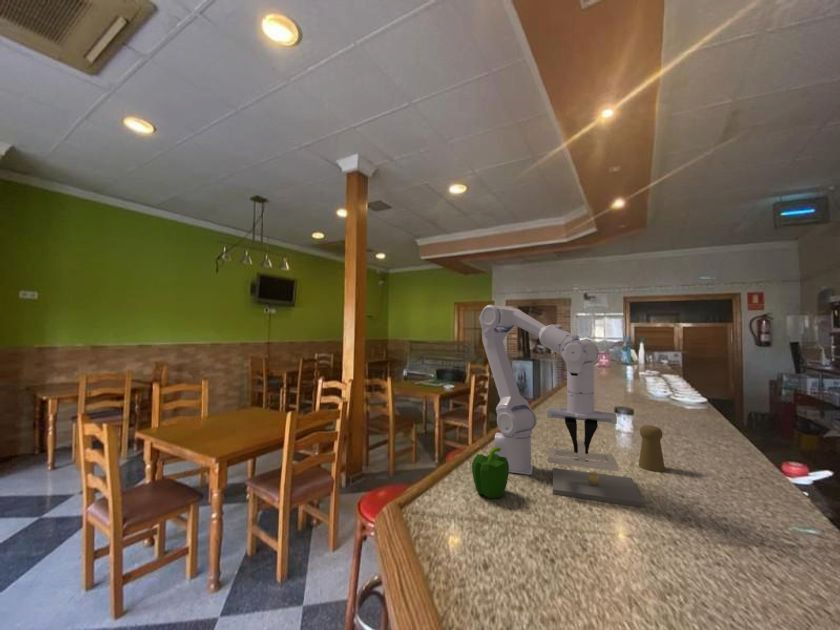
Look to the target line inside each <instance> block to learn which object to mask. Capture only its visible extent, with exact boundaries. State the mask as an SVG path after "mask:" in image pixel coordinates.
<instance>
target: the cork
mask: <svg viewBox="0 0 840 630" xmlns="http://www.w3.org/2000/svg"><path fill="white" fill-rule="evenodd" d="M639 434H640V436H641V444H640V452H639V453H640V454H639V460H638V461H639V462H638V467H639V468H641V469H643V470H646V471H650V472H657V473H661V472H666V468H665V467H666V466H665V461H664V460H665V459H664V456H663V449H662V443H661V439H662V438H663V430H662V429H661V428H660V427H658V426H654V425H648V424H647V425H642V426H641V427H640V428H639Z"/></svg>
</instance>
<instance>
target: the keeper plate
mask: <svg viewBox="0 0 840 630" xmlns="http://www.w3.org/2000/svg"><path fill="white" fill-rule="evenodd" d="M552 494H553V495H559V496H564V497H570V498H571V497H572V498H579V499H585V500H591V501H598V502H604V503H605V502H606V503H612V504H618V505H624V506H625V505H626V506H630V507H631V506H632V507H638V508H643V509H644V508H646V502H645V500H644V498H643V496H642V494H641V493H640V490H639V488H638V487H637V485H636V483H635V481H634V480H633V477H630V476H628V477H627V476H620V475H612V474H605V473H598V472H595V471H582V470H581V471H580V470H572V469H564V468H558V467H552Z"/></svg>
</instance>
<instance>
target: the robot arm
mask: <svg viewBox="0 0 840 630" xmlns="http://www.w3.org/2000/svg"><path fill="white" fill-rule="evenodd" d="M478 321H479V323H480V326H481V335H482V336H481V338H482V339H481V340H482V345H483V347H484V350H485V351H484V352H485V354H486V358H487V361H488V364H489V367H490V370H491V374H492V377H493V381H494V383H495V388H496V389H497V390H496V391H497V394H498V397H499V402H498V404H497V405H496V408H495V412H496V424H497V427H498V428H497V429H499V431H500V432H496V433H495V435H494V443H493V445H494V446H493V448H495V447H499V448H501V450H500V451H499V452H498V451H496V452H495V453H494V454H497V455H499V456H500V457H506V458H507V461H508V465H509V473H514V474H522V475H528V476H529V475H530V476H532V475H533V470H534V463H533V462H532V434H533V430H534V429H535V428H536V425H537V416H536V414H535V412H534V411H533V409H532V407H531V406H530V403H529V401H528V400H527V399H526V398H524V397H523V396H522V395H521V394H520V393H521V392H520V390H519V387H518V385H517V382H516V379H515V375H514V372H513V369H512V366H511V362H510V359H509V357H508V353H507V350H506V347H505V344H504V340H505V338H506V337H507V336H508V335H509V334H510V332H511V331H512V330H513V329H514V328H515V327H518V328H520V329H522V330H524V331H526V332H528V333H530V334H532V335H533V336H536V337H538V338H539V342H540V344H541V345H542V346H544V347H545V348H548V350H551V351H552V352H554V353H556V354H557V355H560V356H561V357H562V359H563V361H564V362H565V364H566V374H567V375H566V383H567V384H566V386H567V387H566V390H567V391H566V404H567V405H566V408H561V407H560V408H556V407H555V408H553V407H552V408H551V407H547V409H546V410H547V411H546V415H547V416H546V418H547V419H552V418H553V419H554V418H555V419H564V424H565V426H566V428H567V431H568V433H569V436H570V438H571V440H572V445H573V450H574V452H575V453H578V446H577V440H578V439H577V438H578V435H577V434H578V423H577V421H584V425H583V427H584V440H583V441H584V444H585V454H588V452H589V449H590V444H591V442H592V438H593V437H594V435H595V433H596V431H597V429H598V426H599V424H598V423H608V424H609V423H611V424H613V425H615V424H616V425H617V423H618V421H617V420H618V418H617V414H616V413H615V412H614V413H613V412H605V411H600V410H599V411H597V410H595V362H596V361H597V359H598V357H599V348H598V346H597V345H596V343H594V342H593V341H592V340H591V339H588V338H587V339H580V338H579V337H580V335H579V334H576V333H570V332H568V331H566V330H565V329H563V325H560V324H549V325H545V324H543V323H541V322H540V321H539V320H537V319H535V318H533V317H532V316H530V315H528V314H527V313H525V312H523V311H522V310H521V309H519V308H515V307H514V306H510V305H509V306H506V305H505V306H503V305H494V304H488V305H486V306H484V308H482V311H481V313H480V315H479V317H478Z"/></svg>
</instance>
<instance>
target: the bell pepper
mask: <svg viewBox="0 0 840 630" xmlns="http://www.w3.org/2000/svg"><path fill="white" fill-rule="evenodd" d="M500 450H501V448H499V447H495V448H494V447H492V449H491V450H490V451H489V454H487V455H484V454H481V453H477V454H476V455H475V457H474V458H473V460H472V462H471V473H472V478H473V483H474V486H475V491H476V492H477V493H478V494H479V495H482V494H484V495H483V496H485V497H486V498H488V499H499V498H501V497H502V496H503V494H504V493H505V490H506V489H507V484H508V480H509V476H510V475H509V473H510V472H509V465H508V461H507V458H506V457H500V456H499V455H497V454H494V453H495V452H496V451H498V452H499V451H500Z"/></svg>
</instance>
